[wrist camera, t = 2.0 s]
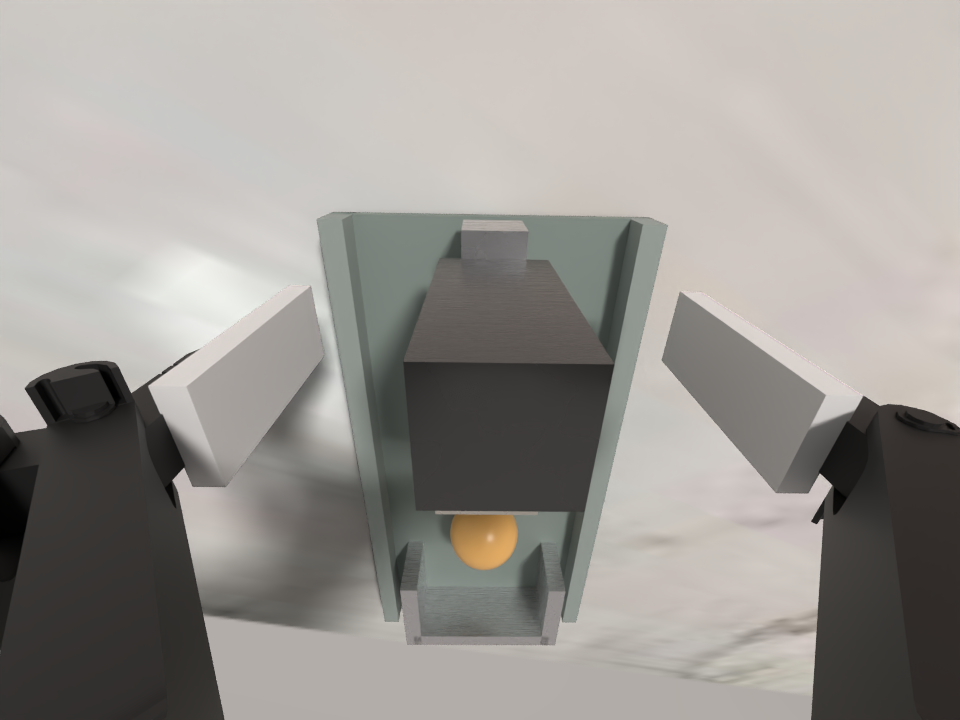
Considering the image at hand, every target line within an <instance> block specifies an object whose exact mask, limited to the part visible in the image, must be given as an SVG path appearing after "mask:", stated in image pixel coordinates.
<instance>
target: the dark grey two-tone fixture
mask: <svg viewBox="0 0 960 720" xmlns="http://www.w3.org/2000/svg"><path fill="white" fill-rule="evenodd" d="M528 233H529V231H528V230H527V228H526V226H525V225H524V223H523V221H516V220H463V224H462V229H461V258H439V261H438V264H437V267H436V270H435V273H434V275H433V278H432V281H431V284H430V287H429V290H428V292H427V295H426V298H425V301H424V304H423V307H422V310H421V312H420V315H419V318H418V321H417V324H416V327H415V329H414V332H413V335H412V338H411V341H410V344H409V346H408V349H407V352H406V355H405V358H404V361H403V366H404V378H405V389H406V401H407V413H408V425H409V436H410V448H411V460H412V471H413V483H414V495H415V507H416V511H435V514H468V515H538V512H585V508H586V503H587V498H588V493H589V488H590V483H591V478H592V473H593V468H594V463H595V458H596V453H597V448H598V443H599V438H600V433H601V428H602V424H603V419H604V414H605V409H606V404H607V399H608V394H609V389H610V384H611V379H612V374H613V369H614V363H613V361H612V360H611V358H610V356H609V355H608V353H607V352H606V350H605V349H604V347H603V345H602V344H601V342H600V341H599V339H598V338H597V336H596V334H595V333H594V331H593V330H592V328H591V327H590V325H589V323H588V322H587V320H586V319H585V317H584V315H583V314H582V312H581V311H580V309H579V308H578V306H577V304H576V303H575V301H574V300H573V298H572V297H571V295H570V293H569V292H568V290H567V289H566V287H565V285H564V284H563V282H562V281H561V279H560V278H559V276H558V274H557V273H556V271H555V270H554V268H553V267H552V265H551V263H550V262H549V260H527V247H528Z"/></svg>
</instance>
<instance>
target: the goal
mask: <svg viewBox="0 0 960 720" xmlns="http://www.w3.org/2000/svg"><path fill="white" fill-rule="evenodd" d="M400 594H401V601H402V609H403V617H404V625H405V632H406V640H407V644H408V645H555V642H556V637H557V632H558V627H559V622H560V617H561V612H562V607H563V602H564V597H565V587H564V581H563V576H562V571H561V566H560V561H559V556H558V551H557V546H556V542H541V547H540V554H539V561H538V569H537V576H536V584H535V587H458V586H427V580H426V567H425V554H424V541H409V543H408V549H407V554H406V560H405V566H404V571H403V577H402V583H401V588H400Z"/></svg>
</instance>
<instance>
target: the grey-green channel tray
mask: <svg viewBox="0 0 960 720" xmlns="http://www.w3.org/2000/svg"><path fill="white" fill-rule="evenodd" d="M463 220H516V221H523V223H524V225H525V226H526V228H527V230H528V231H529V233H528V247H527V260H549V262H550V263H551V265H552V267H553V268H554V270H555V271H556V273H557V274H558V276H559V278H560V279H561V281H562V282H563V284H564V285H565V287H566V289H567V290H568V292H569V293H570V295H571V297H572V298H573V300H574V301H575V303H576V304H577V306H578V308H579V309H580V311H581V312H582V314H583V315H584V317H585V319H586V320H587V322H588V323H589V325H590V327H591V328H592V330H593V331H594V333H595V334H596V336H597V338H598V339H599V341H600V342H601V344H602V345H603V347H604V349H605V350H606V352H607V353H608V355H609V356H610V358H611V360H612V361H613V363H614V369H613V374H612V379H611V384H610V389H609V394H608V399H607V404H606V409H605V414H604V419H603V424H602V428H601V433H600V438H599V443H598V448H597V453H596V458H595V463H594V468H593V473H592V478H591V483H590V488H589V493H588V498H587V503H586V508H585V512H538V515H513V516H514V518H515V520H516V524H517V529H518V537H517V543H516V547H515V549H514V551H513V553H512V555H511V556H510V558H509V559H508V560H507V561H506V562H505V563H504V564H502V565H501V566H499V567H497V568H494V569H491V570H478V569H474V568H471V567H469V566H468V565H466V564H465V563H463V562H462V561H461V560H460V559H459V557H458V556H457V555H456V553H455V551H454V549H453V546H452V543H451V538H450V528H451V523H452V520H453V517H454V515H455V514H435V511H416V507H415V495H414V483H413V471H412V460H411V448H410V436H409V425H408V413H407V401H406V389H405V378H404V366H403V361H404V358H405V355H406V352H407V349H408V346H409V344H410V341H411V338H412V335H413V332H414V329H415V327H416V324H417V321H418V318H419V315H420V312H421V310H422V307H423V304H424V301H425V298H426V295H427V292H428V290H429V287H430V284H431V281H432V278H433V275H434V273H435V270H436V267H437V264H438V261H439V258H461V229H462V224H463ZM317 225H318V230H319V236H320V242H321V248H322V254H323V260H324V266H325V272H326V278H327V283H328V289H329V295H330V301H331V307H332V313H333V319H334V325H335V330H336V336H337V342H338V348H339V354H340V360H341V366H342V372H343V378H344V383H345V389H346V395H347V401H348V407H349V413H350V419H351V425H352V431H353V436H354V442H355V448H356V454H357V460H358V466H359V472H360V478H361V483H362V489H363V495H364V501H365V507H366V513H367V519H368V525H369V531H370V536H371V542H372V548H373V554H374V560H375V566H376V572H377V578H378V584H379V589H380V595H381V601H382V607H383V613H384V619H385V622H399V617H400V611H401V605H402V601H401V594H400V588H401V583H402V577H403V571H404V566H405V560H406V554H407V549H408V543H409V541H424V554H425V567H426V580H427V586H458V587H535V584H536V576H537V569H538V561H539V554H540V547H541V542H556V546H557V551H558V556H559V561H560V566H561V571H562V576H563V581H564V587H565V597H564V602H563V607H562V612H561V617H562V622H576V620H577V616H578V612H579V607H580V603H581V599H582V594H583V590H584V586H585V581H586V577H587V573H588V568H589V564H590V560H591V555H592V551H593V547H594V542H595V538H596V534H597V529H598V525H599V521H600V516H601V512H602V508H603V504H604V499H605V495H606V491H607V486H608V482H609V478H610V473H611V469H612V465H613V460H614V456H615V452H616V447H617V443H618V439H619V434H620V430H621V426H622V421H623V417H624V413H625V408H626V404H627V400H628V395H629V391H630V387H631V382H632V378H633V374H634V369H635V365H636V361H637V356H638V352H639V348H640V343H641V339H642V335H643V330H644V326H645V322H646V318H647V313H648V309H649V305H650V300H651V296H652V292H653V287H654V283H655V279H656V274H657V270H658V266H659V261H660V257H661V253H662V248H663V244H664V240H665V235H666V231H667V227H668V225H667V224H664V223H662V222H659V221H657V220H654V219H652V218H649V217H596V216H537V215H478V214H419V213H361V212H332V213H330V214H327V215H325V216H323V217H320V218H318V219H317Z"/></svg>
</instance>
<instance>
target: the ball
mask: <svg viewBox="0 0 960 720" xmlns="http://www.w3.org/2000/svg"><path fill="white" fill-rule="evenodd" d="M517 537H518V529H517V524H516V520H515V518H514V516H513V515H468V514H455V515H454V517H453V520H452V523H451V528H450V538H451V543H452V546H453V549H454V551H455V553H456V555H457V556H458V557H459V559H460V560H461V561H462V562H463V563H465V564H466V565H468V566H469V567H471V568H474V569H478V570H491V569H494V568H497V567H499V566H501V565H502V564H504V563H505V562H506V561H507V560H508V559H509V558H510V556H511V555H512V553H513V551H514V549H515V547H516V543H517Z"/></svg>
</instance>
